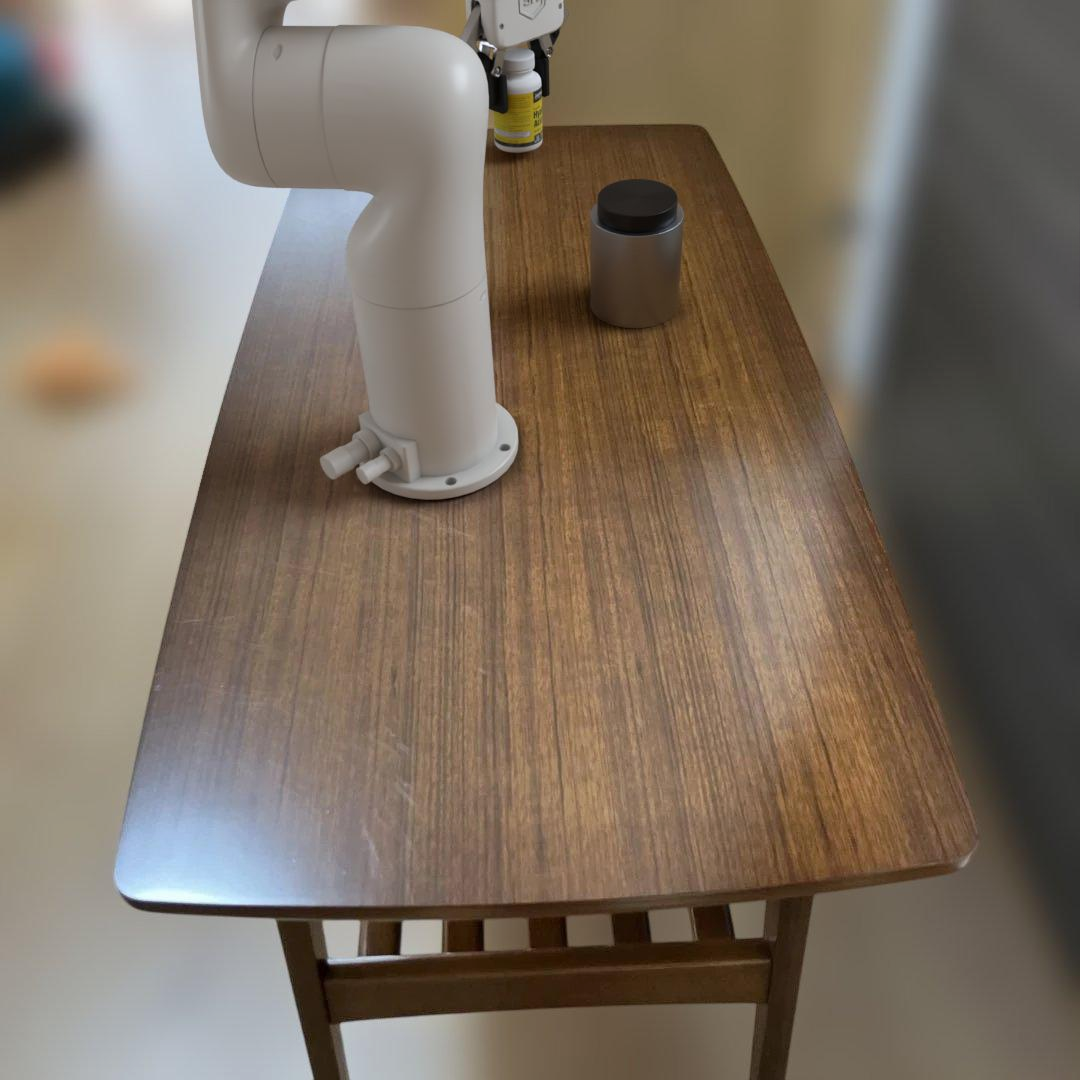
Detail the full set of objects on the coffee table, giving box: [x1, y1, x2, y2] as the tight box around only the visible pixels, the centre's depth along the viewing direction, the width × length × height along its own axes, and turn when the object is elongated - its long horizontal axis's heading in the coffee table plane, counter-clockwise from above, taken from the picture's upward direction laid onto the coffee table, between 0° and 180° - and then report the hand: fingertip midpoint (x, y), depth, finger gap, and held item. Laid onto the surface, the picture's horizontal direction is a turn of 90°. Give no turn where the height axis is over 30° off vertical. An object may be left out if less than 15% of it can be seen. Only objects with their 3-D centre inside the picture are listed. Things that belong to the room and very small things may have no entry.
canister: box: [589, 178, 685, 329], centre depth 98 cm, size 8×8×10 cm
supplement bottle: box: [492, 47, 544, 154], centre depth 121 cm, size 5×5×10 cm
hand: (517, 100), depth 121 cm, fingers closed on supplement bottle, 5 cm apart
